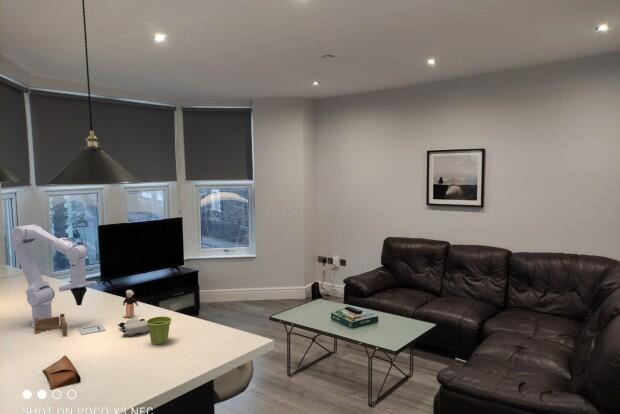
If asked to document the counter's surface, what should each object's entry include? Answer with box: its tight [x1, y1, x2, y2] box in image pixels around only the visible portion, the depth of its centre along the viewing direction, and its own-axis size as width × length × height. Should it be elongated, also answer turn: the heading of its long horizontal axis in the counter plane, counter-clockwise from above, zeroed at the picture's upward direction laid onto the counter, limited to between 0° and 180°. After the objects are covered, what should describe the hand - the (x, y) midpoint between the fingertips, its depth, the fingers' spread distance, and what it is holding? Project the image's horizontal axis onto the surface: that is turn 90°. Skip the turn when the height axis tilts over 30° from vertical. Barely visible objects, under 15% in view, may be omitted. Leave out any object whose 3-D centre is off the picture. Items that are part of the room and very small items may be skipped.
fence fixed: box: [33, 315, 62, 335], centre depth 182 cm, size 5×12×6 cm, turn 124°
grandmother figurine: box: [122, 289, 139, 319], centre depth 197 cm, size 8×4×13 cm, turn 92°
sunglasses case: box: [41, 355, 82, 390], centre depth 140 cm, size 18×7×7 cm
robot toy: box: [117, 318, 149, 336], centre depth 180 cm, size 12×4×15 cm
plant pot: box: [145, 315, 172, 345], centre depth 168 cm, size 9×9×9 cm
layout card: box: [78, 323, 106, 336], centre depth 182 cm, size 9×9×1 cm
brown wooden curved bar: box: [59, 313, 68, 336], centre depth 179 cm, size 14×2×5 cm, turn 34°
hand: (79, 304), depth 186 cm, fingers closed
